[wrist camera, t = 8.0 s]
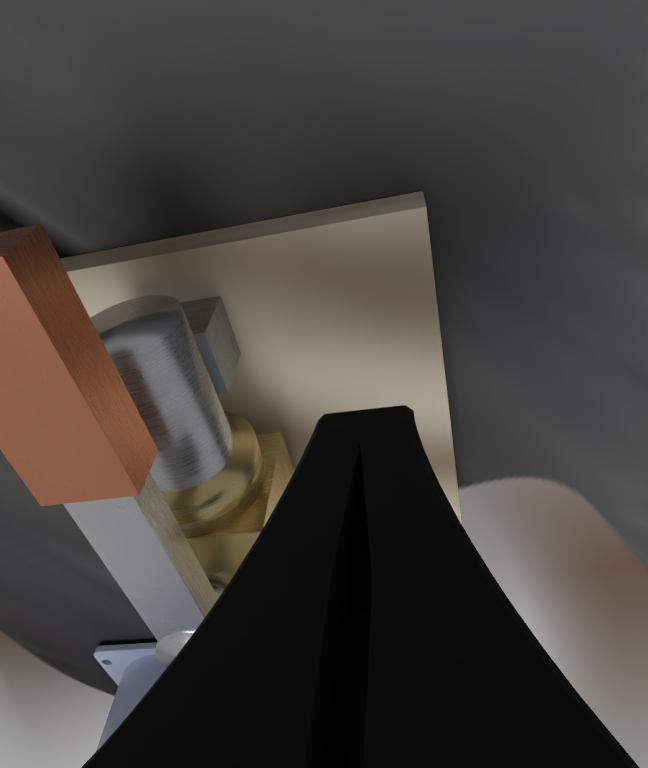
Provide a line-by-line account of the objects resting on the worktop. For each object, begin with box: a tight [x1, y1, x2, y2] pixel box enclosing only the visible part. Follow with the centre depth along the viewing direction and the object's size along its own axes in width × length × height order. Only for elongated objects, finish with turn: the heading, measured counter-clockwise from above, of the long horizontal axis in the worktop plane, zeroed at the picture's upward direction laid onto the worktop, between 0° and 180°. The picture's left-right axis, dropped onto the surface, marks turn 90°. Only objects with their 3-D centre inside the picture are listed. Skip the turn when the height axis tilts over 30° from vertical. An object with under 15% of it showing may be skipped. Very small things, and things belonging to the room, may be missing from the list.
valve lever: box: [0, 224, 218, 667], centre depth 13 cm, size 13×2×1 cm, turn 12°
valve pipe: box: [90, 295, 294, 598], centre depth 19 cm, size 15×4×5 cm, turn 12°
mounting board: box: [60, 191, 462, 524], centre depth 21 cm, size 16×13×1 cm
